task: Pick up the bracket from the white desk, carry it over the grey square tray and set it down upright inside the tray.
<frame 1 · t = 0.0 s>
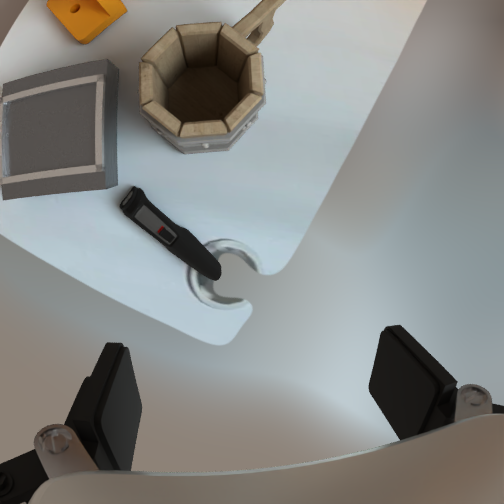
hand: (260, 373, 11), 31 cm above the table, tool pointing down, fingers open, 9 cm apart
electric trimmer: (172, 230, 41), on the table
tankard: (223, 81, 36), on the table
bracket: (88, 10, 30), on the table
grey square tray: (64, 132, 35), on the table
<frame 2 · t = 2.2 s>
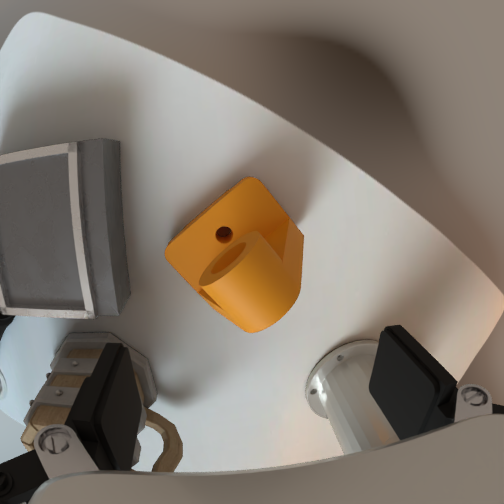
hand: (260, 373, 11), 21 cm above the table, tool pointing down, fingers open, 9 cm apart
tankard: (129, 391, 35), on the table
bracket: (230, 236, 32), on the table
grey square tray: (56, 224, 29), on the table
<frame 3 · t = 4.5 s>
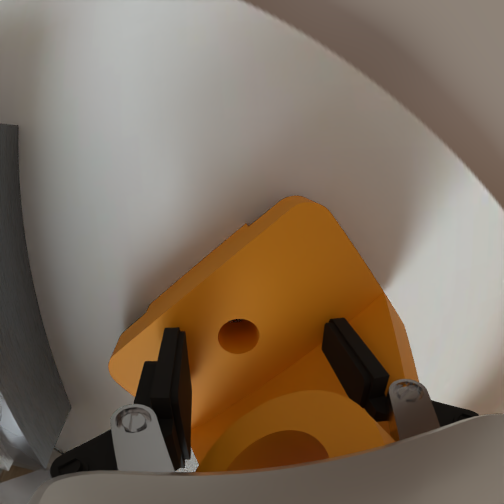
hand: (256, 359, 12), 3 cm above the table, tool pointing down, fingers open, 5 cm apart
bracket: (248, 319, 15), on the table
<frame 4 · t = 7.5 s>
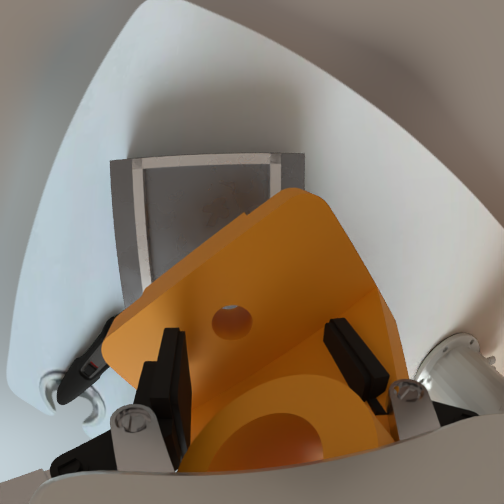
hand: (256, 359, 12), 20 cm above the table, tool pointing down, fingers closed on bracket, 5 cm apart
electric trimmer: (96, 359, 33), on the table
bracket: (241, 308, 15), point 16 cm above the table, touching gripper
grey square tray: (209, 236, 31), on the table
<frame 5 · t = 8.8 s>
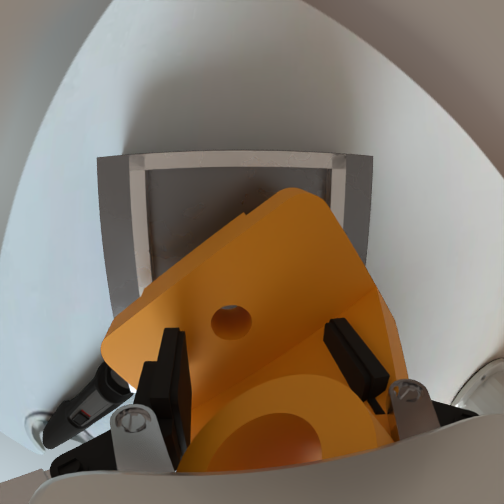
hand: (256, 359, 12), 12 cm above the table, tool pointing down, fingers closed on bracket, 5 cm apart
electric trimmer: (87, 402, 26), on the table
bracket: (241, 308, 15), point 8 cm above the table, touching gripper
grey square tray: (233, 261, 23), on the table
when the fingers open (9 cm above the table, at t = 9.7 s): bracket stays where it is, resting on grey square tray.
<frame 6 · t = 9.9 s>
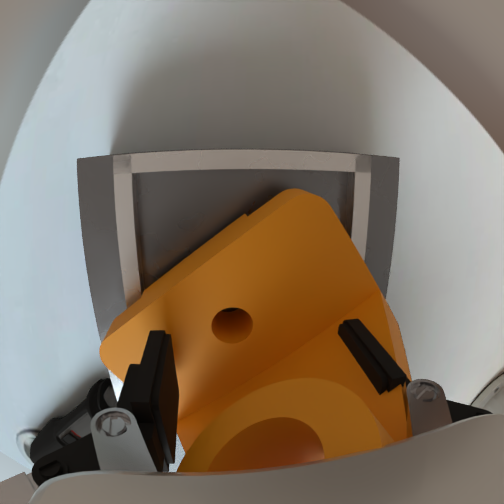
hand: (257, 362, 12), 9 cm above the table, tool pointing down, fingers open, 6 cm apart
electric trimmer: (78, 420, 23), on the table
bracket: (242, 311, 15), point 6 cm above the table, touching grey square tray
grey square tray: (237, 275, 20), on the table
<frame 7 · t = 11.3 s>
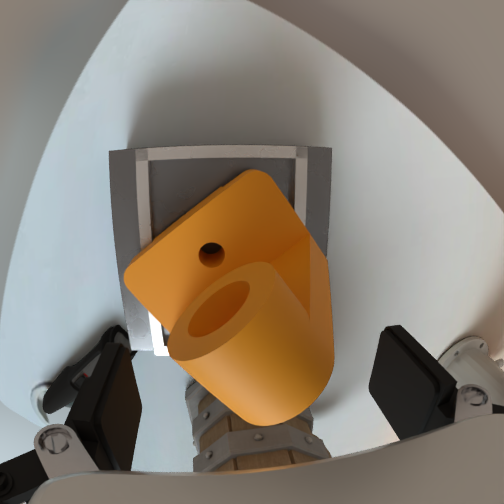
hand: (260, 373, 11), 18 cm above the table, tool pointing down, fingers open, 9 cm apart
electric trimmer: (88, 368, 30), on the table
tankard: (269, 411, 35), on the table
bracket: (220, 254, 22), point 6 cm above the table, touching grey square tray
grey square tray: (219, 237, 27), on the table
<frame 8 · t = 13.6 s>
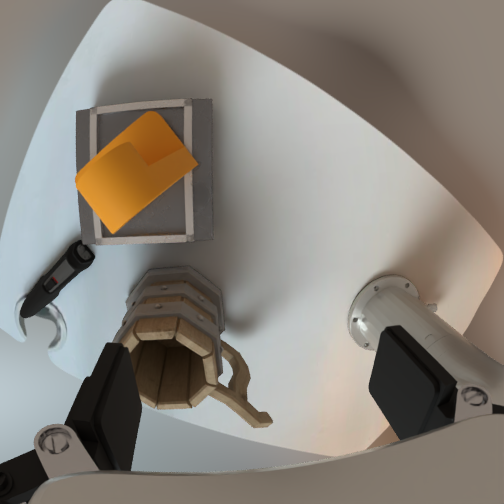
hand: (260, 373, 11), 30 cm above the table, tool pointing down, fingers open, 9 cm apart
electric trimmer: (58, 279, 40), on the table
tankard: (197, 325, 44), on the table
bracket: (137, 169, 32), point 6 cm above the table, touching grey square tray
grey square tray: (149, 170, 37), on the table
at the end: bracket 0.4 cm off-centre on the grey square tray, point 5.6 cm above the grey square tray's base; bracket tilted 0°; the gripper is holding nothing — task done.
